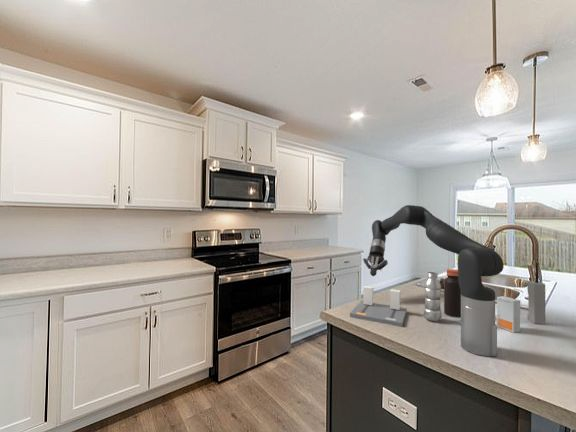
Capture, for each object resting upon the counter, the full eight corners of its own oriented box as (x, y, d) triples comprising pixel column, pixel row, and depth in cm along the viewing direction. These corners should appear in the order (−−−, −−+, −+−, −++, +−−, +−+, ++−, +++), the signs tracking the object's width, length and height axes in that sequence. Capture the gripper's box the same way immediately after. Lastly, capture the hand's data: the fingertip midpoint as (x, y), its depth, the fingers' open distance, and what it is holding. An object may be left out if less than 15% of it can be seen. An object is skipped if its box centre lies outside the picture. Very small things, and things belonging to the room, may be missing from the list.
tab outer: (373, 303, 126) (373, 286, 126) (372, 305, 123) (372, 288, 123) (364, 302, 128) (364, 285, 128) (363, 303, 125) (363, 287, 125)
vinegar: (458, 318, 113) (459, 272, 113) (441, 314, 118) (441, 269, 118) (464, 315, 117) (464, 270, 117) (447, 311, 122) (447, 268, 122)
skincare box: (496, 326, 105) (496, 296, 105) (503, 325, 106) (503, 295, 106) (513, 333, 99) (513, 301, 99) (520, 331, 100) (520, 300, 101)
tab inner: (400, 307, 120) (400, 290, 120) (399, 309, 118) (399, 292, 118) (391, 306, 122) (391, 289, 122) (390, 308, 119) (390, 290, 120)
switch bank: (406, 311, 121) (406, 307, 121) (402, 326, 104) (402, 322, 104) (360, 303, 131) (360, 300, 131) (349, 316, 114) (349, 313, 114)
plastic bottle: (444, 323, 107) (444, 275, 107) (426, 322, 108) (426, 274, 108) (438, 318, 113) (438, 271, 113) (421, 316, 115) (421, 271, 115)
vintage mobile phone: (537, 320, 112) (537, 261, 112) (545, 324, 107) (545, 263, 107) (526, 319, 113) (526, 261, 113) (534, 323, 108) (534, 263, 108)
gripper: (364, 244, 146) (358, 269, 135) (389, 245, 140) (385, 272, 129) (366, 252, 151) (361, 277, 140) (390, 254, 144) (387, 280, 133)
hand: (372, 275), depth 134 cm, fingers closed
